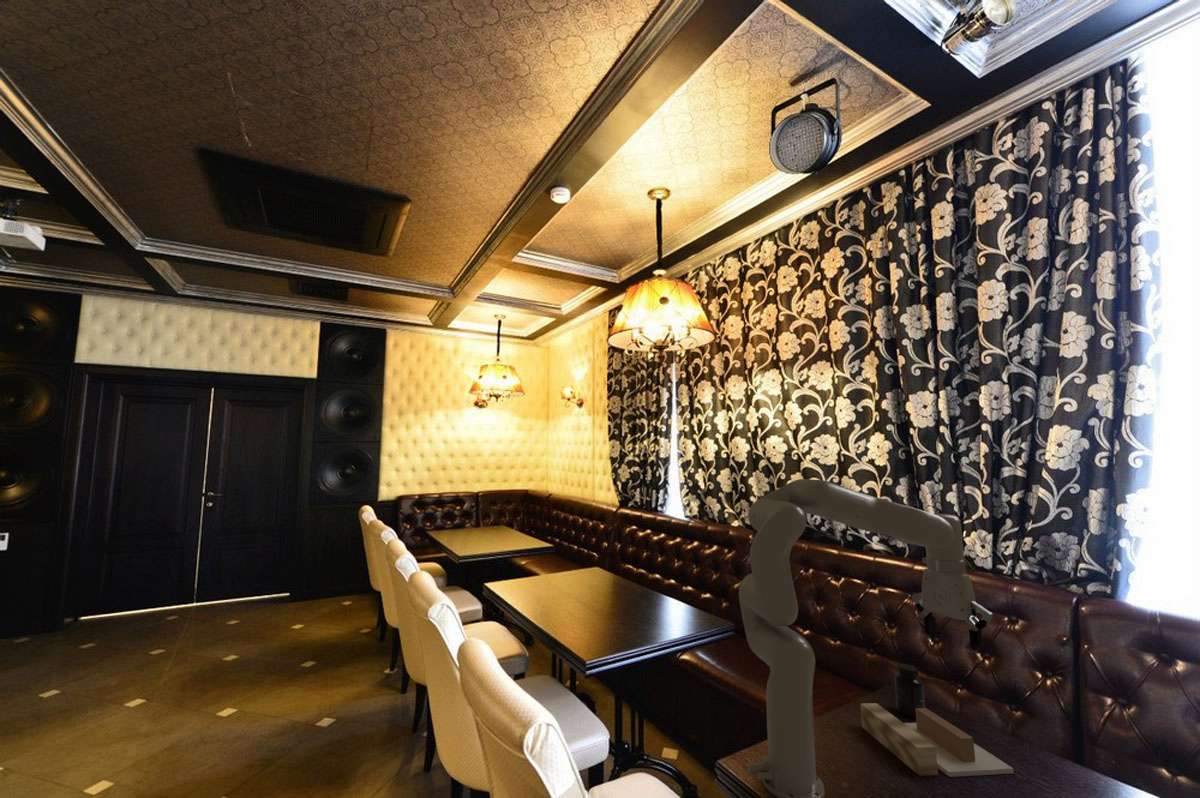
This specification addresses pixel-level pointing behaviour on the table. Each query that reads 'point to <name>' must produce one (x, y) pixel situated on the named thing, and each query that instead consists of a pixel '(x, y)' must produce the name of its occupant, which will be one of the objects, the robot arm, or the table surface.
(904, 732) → the birch beam
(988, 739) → the table surface
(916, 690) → the supplement bottle
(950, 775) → the board
